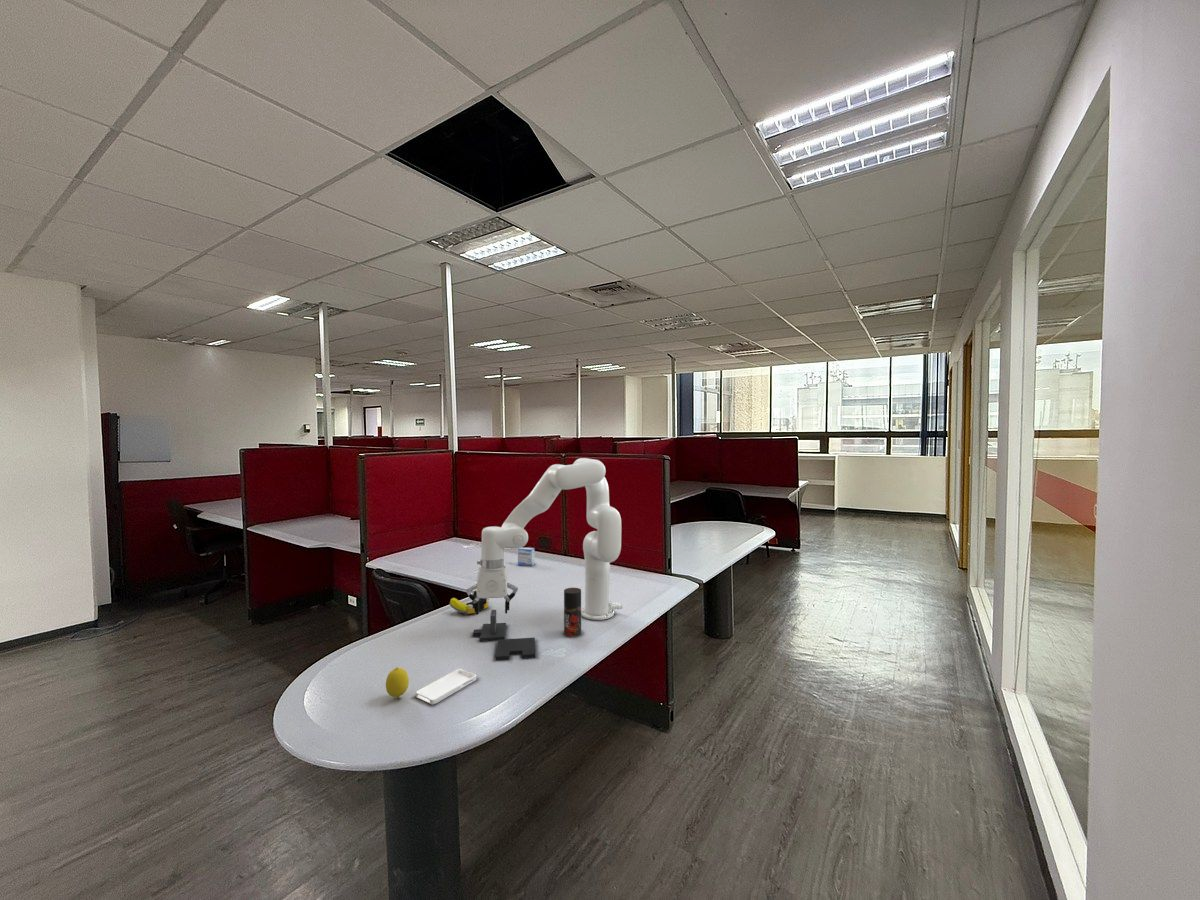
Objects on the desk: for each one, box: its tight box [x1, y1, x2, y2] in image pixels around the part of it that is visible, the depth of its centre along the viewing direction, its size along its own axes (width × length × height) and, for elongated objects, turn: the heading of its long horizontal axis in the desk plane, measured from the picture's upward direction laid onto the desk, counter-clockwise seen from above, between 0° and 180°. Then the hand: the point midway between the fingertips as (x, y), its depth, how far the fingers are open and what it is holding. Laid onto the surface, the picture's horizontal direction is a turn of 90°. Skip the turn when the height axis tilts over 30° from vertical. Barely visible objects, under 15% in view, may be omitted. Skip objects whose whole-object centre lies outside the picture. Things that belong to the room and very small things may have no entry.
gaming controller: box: [449, 589, 490, 616], centre depth 187 cm, size 15×6×10 cm
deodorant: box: [563, 587, 582, 638], centre depth 164 cm, size 6×6×15 cm
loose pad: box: [472, 609, 507, 643], centre depth 164 cm, size 12×11×7 cm
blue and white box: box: [517, 546, 536, 567], centre depth 250 cm, size 8×4×9 cm, turn 80°
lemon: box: [385, 666, 410, 699], centre depth 124 cm, size 6×6×8 cm
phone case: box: [415, 668, 477, 706], centre depth 129 cm, size 7×1×15 cm
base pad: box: [495, 637, 536, 661], centre depth 152 cm, size 12×12×1 cm
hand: (492, 612), depth 164 cm, fingers open, 9 cm apart
